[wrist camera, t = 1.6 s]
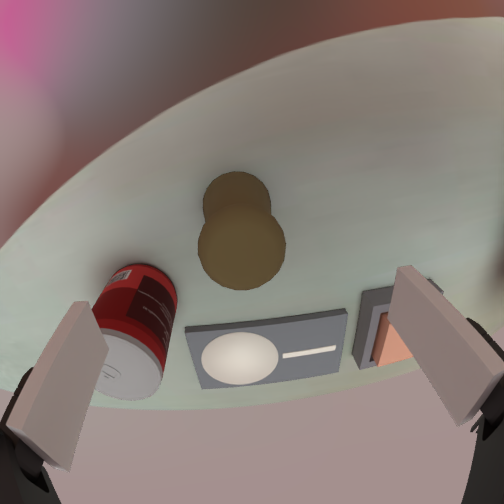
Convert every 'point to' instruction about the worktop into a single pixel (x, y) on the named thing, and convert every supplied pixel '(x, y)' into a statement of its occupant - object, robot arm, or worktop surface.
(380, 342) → the button
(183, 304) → the worktop surface
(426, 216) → the worktop surface
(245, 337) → the slate board
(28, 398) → the robot arm
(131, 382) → the canned food
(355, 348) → the button housing
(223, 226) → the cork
